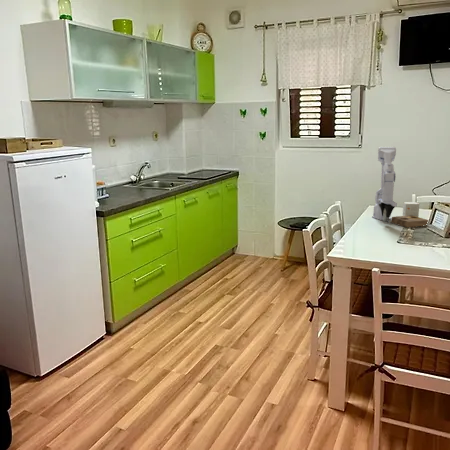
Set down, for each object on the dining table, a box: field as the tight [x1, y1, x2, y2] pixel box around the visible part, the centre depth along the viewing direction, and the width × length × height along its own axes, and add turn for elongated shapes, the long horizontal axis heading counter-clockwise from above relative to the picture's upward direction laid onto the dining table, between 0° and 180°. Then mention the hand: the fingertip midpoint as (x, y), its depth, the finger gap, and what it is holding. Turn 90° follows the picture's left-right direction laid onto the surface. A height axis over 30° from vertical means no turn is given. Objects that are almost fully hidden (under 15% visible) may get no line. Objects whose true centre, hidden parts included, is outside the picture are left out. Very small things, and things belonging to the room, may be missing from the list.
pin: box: [382, 208, 390, 224], centre depth 252 cm, size 3×3×8 cm
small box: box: [402, 201, 420, 217], centre depth 266 cm, size 8×6×10 cm
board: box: [390, 215, 429, 229], centre depth 255 cm, size 14×14×4 cm
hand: (386, 216), depth 252 cm, fingers closed on pin, 3 cm apart
